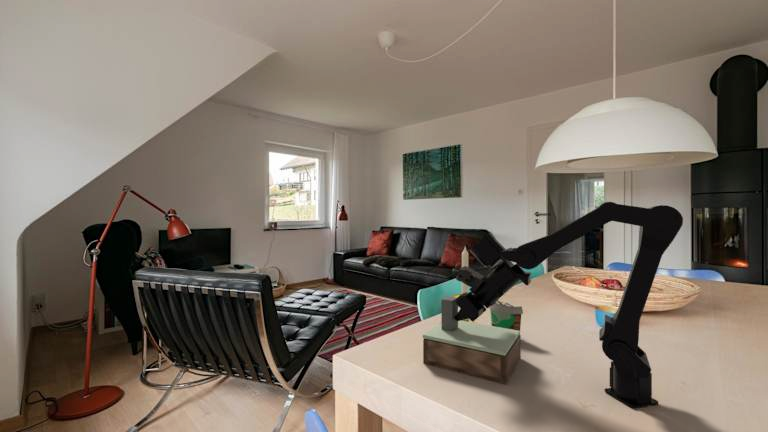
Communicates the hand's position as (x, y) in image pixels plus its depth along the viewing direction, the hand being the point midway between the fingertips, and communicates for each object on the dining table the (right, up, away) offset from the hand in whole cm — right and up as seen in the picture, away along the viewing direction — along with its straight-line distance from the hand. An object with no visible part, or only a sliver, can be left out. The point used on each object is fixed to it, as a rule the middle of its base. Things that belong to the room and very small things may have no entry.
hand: (456, 319), depth 88 cm
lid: (+4, -3, -2) cm, 5 cm away
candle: (+8, -10, +24) cm, 27 cm away
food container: (+17, -10, +16) cm, 25 cm away
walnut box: (+4, -10, -2) cm, 11 cm away
